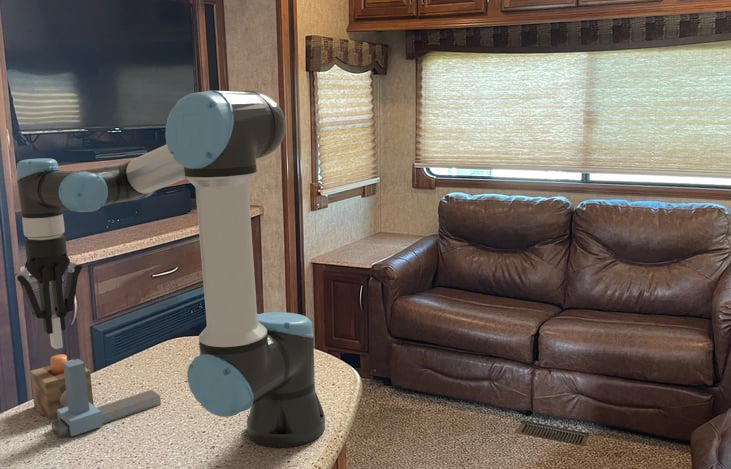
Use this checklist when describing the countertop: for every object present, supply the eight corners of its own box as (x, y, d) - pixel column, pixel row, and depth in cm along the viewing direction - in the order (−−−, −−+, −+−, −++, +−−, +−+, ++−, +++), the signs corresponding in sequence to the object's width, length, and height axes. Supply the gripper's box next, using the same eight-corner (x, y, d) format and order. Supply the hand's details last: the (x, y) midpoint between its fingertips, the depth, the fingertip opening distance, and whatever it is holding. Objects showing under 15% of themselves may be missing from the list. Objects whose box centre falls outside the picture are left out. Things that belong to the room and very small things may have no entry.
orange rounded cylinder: (70, 371, 145) (69, 357, 145) (55, 375, 143) (53, 361, 143) (64, 367, 148) (63, 353, 147) (49, 371, 146) (47, 357, 145)
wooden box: (94, 406, 146) (91, 371, 145) (51, 421, 140) (46, 384, 139) (76, 393, 153) (73, 359, 152) (34, 406, 147) (30, 370, 146)
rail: (160, 404, 147) (160, 395, 147) (60, 438, 133) (58, 429, 133) (152, 398, 150) (151, 389, 150) (52, 431, 136) (51, 422, 135)
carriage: (102, 426, 137) (96, 363, 134) (72, 436, 133) (65, 372, 130) (88, 414, 142) (82, 354, 139) (58, 424, 138) (51, 362, 135)
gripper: (70, 228, 147) (81, 334, 151) (4, 238, 138) (17, 350, 143) (84, 233, 141) (95, 343, 146) (16, 243, 133) (30, 360, 137)
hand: (56, 346), depth 144 cm, fingers closed
